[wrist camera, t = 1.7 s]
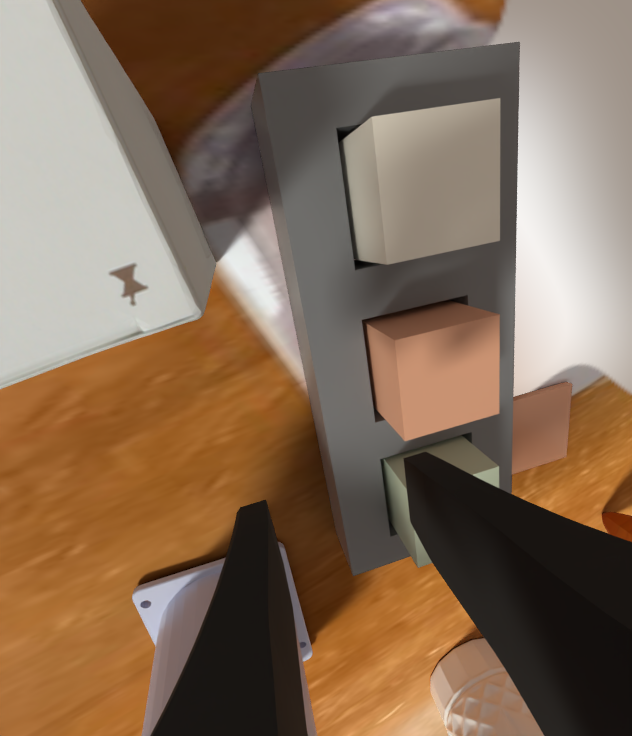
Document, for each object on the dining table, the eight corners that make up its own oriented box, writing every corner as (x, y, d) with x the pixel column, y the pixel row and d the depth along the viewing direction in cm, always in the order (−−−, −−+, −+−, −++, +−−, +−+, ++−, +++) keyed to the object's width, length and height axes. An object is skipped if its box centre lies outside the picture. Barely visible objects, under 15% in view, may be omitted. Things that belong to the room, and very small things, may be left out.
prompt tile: (561, 453, 24) (566, 456, 24) (505, 471, 23) (509, 475, 23) (566, 381, 22) (572, 384, 22) (506, 399, 21) (511, 401, 21)
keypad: (476, 487, 23) (510, 521, 20) (336, 532, 22) (353, 576, 19) (466, 76, 16) (520, 41, 13) (250, 105, 14) (258, 73, 11)
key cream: (442, 240, 16) (499, 240, 12) (351, 258, 15) (386, 264, 12) (437, 129, 14) (500, 97, 11) (336, 145, 14) (371, 116, 10)
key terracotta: (449, 381, 18) (499, 413, 15) (370, 403, 17) (404, 441, 14) (445, 299, 17) (499, 314, 13) (359, 319, 16) (394, 340, 13)
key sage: (454, 491, 20) (498, 539, 17) (385, 513, 20) (417, 567, 17) (451, 427, 19) (499, 466, 16) (377, 449, 18) (410, 494, 15)
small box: (155, 116, 14) (-4, -177, 4) (219, 267, 16) (217, 316, 6) (-73, 189, 13) (-976, 45, 3) (26, 338, 15) (-328, 526, 5)
